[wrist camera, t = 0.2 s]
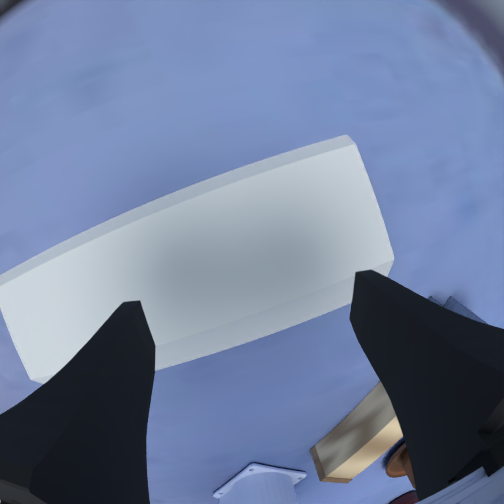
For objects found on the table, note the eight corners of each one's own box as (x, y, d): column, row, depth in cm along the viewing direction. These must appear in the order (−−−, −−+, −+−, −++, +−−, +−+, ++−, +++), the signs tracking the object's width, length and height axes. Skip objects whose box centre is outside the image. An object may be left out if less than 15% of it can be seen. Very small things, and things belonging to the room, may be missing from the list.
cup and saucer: (414, 416, 30) (437, 450, 24) (465, 411, 32) (486, 436, 26) (366, 472, 33) (380, 504, 27) (421, 462, 35) (436, 488, 30)
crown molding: (343, 133, 19) (367, 131, 16) (379, 286, 23) (401, 306, 20) (0, 277, 19) (-23, 294, 16) (71, 389, 23) (59, 414, 20)
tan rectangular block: (335, 454, 30) (346, 483, 25) (309, 449, 28) (319, 481, 24) (413, 377, 27) (435, 404, 23) (391, 367, 26) (414, 397, 22)
